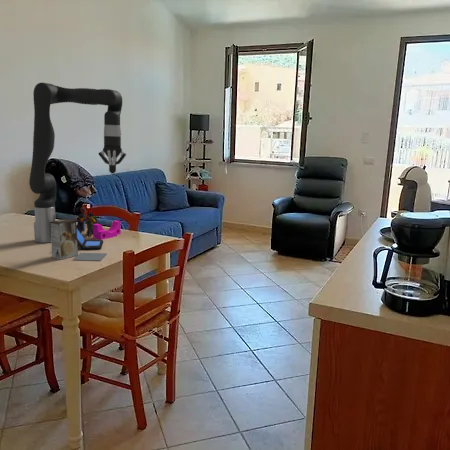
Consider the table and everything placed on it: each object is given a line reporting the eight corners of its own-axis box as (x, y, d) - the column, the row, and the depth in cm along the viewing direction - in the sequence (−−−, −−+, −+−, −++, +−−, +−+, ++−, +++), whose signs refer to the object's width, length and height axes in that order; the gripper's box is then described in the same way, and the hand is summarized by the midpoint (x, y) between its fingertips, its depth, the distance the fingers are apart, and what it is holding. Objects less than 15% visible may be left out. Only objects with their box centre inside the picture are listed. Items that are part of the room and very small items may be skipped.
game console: (101, 250, 206) (100, 231, 204) (70, 251, 204) (69, 232, 202) (103, 242, 221) (103, 224, 219) (75, 242, 219) (74, 225, 217)
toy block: (100, 240, 224) (100, 226, 223) (93, 238, 228) (92, 224, 226) (123, 235, 236) (123, 222, 235) (116, 233, 240) (115, 220, 238)
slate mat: (72, 260, 188) (72, 259, 188) (80, 253, 199) (80, 252, 199) (100, 261, 189) (100, 260, 189) (107, 254, 200) (107, 253, 199)
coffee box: (68, 253, 199) (67, 218, 196) (78, 255, 196) (77, 220, 193) (51, 257, 192) (49, 221, 188) (61, 260, 188) (59, 223, 185)
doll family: (66, 231, 240) (65, 207, 237) (81, 229, 247) (80, 205, 244) (90, 239, 226) (90, 213, 223) (105, 236, 233) (105, 211, 230)
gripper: (95, 134, 197) (96, 173, 201) (125, 136, 198) (125, 174, 201) (99, 134, 205) (100, 171, 208) (128, 135, 205) (128, 173, 209)
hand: (112, 173), depth 205 cm, fingers closed
